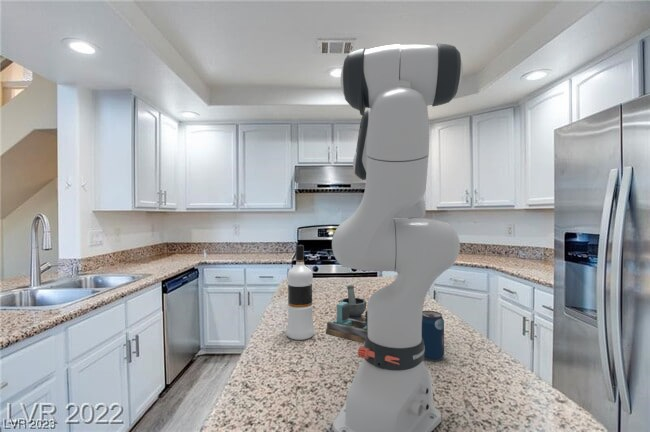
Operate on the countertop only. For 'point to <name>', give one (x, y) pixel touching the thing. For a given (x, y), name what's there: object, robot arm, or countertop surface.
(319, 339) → the countertop surface
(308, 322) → the vodka
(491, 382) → the countertop surface
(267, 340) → the countertop surface
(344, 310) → the teal t-block
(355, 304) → the mortar and pestle
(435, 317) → the soda can
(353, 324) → the rail
